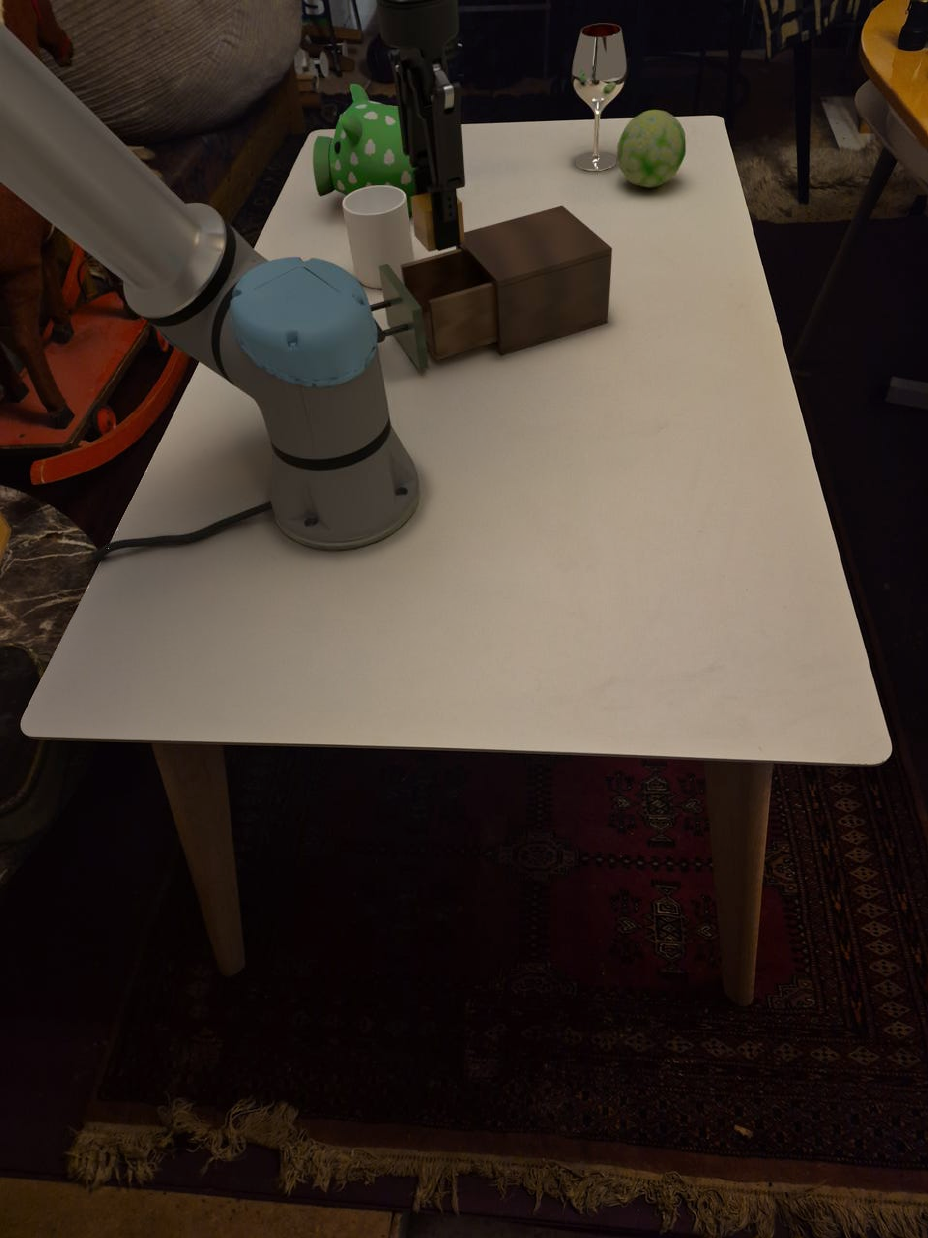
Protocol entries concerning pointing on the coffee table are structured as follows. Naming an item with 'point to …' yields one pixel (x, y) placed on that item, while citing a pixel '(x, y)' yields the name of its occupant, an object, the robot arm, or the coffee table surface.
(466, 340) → the drawer
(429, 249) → the block
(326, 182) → the piggy bank
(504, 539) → the coffee table surface
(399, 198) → the cup
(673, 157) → the decorative ball
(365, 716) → the coffee table surface
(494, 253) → the cabinet
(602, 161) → the wineglass
